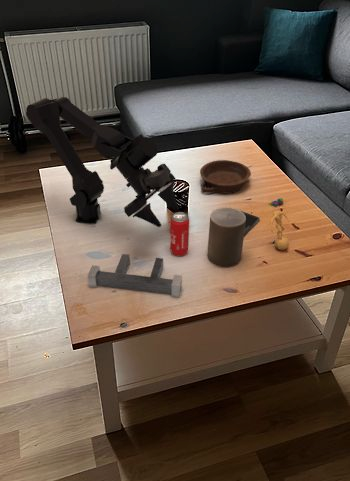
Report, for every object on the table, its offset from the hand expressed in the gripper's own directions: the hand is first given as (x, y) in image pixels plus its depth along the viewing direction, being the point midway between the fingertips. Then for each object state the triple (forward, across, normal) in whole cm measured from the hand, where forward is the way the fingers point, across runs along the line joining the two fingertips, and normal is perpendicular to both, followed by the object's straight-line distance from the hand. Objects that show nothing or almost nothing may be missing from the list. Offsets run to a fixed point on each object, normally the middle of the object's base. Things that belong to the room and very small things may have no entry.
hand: (169, 218), depth 133 cm
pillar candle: (+18, +5, -3) cm, 19 cm away
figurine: (+27, +16, -11) cm, 33 cm away
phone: (+17, +20, -1) cm, 26 cm away
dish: (+6, +42, +9) cm, 43 cm away
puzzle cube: (+21, +38, -5) cm, 44 cm away
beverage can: (+10, 0, +5) cm, 11 cm away
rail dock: (+7, -16, +8) cm, 19 cm away
